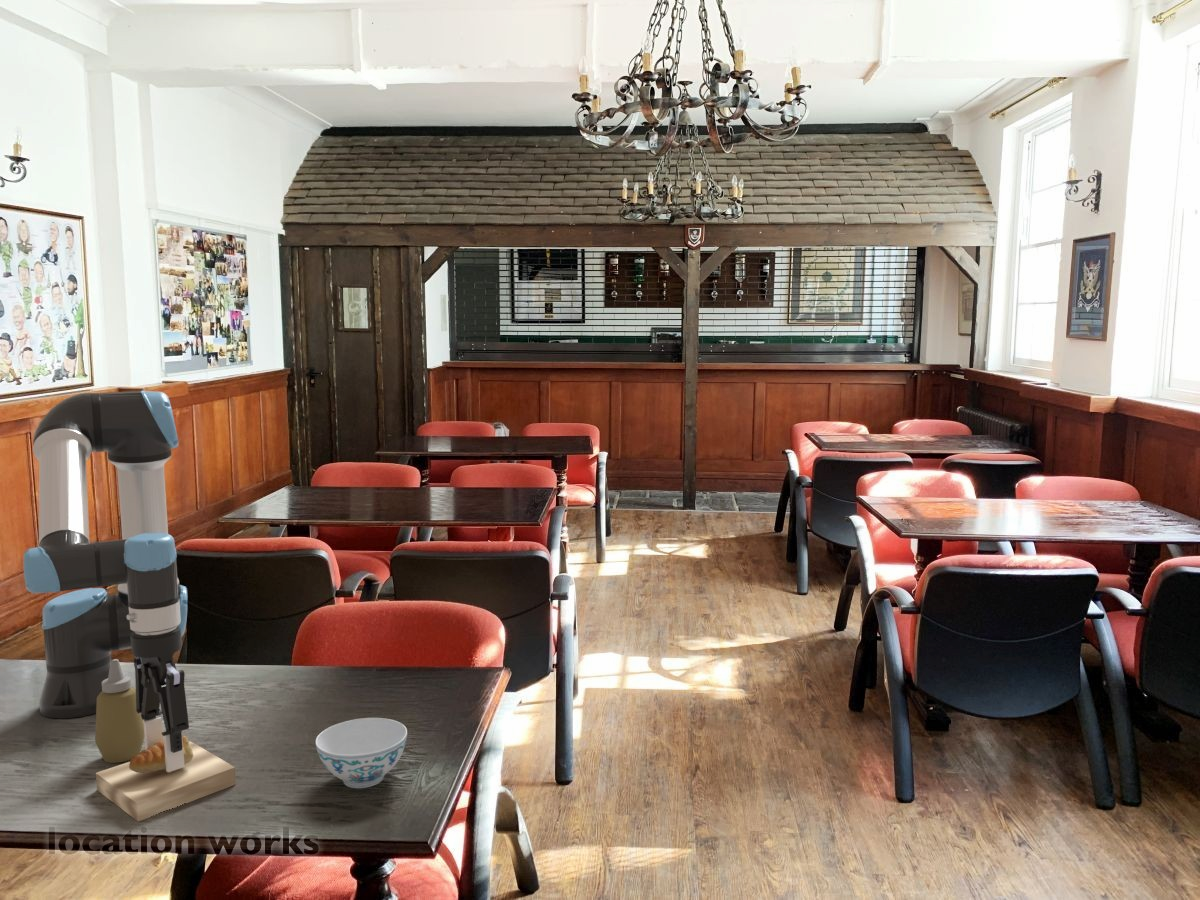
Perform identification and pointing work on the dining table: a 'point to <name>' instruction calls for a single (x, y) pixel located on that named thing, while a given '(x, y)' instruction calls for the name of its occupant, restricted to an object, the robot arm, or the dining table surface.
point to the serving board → (165, 784)
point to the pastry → (157, 757)
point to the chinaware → (361, 749)
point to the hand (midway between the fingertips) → (165, 762)
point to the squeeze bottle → (118, 718)
